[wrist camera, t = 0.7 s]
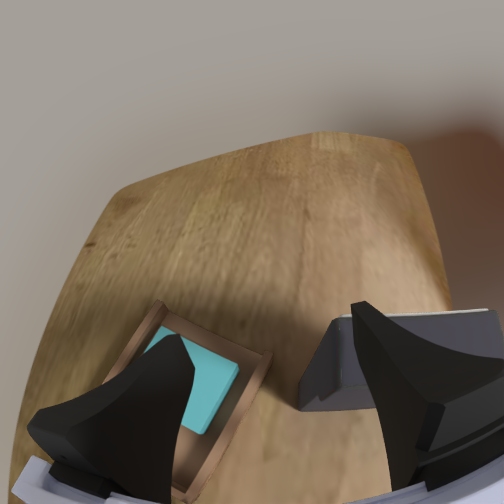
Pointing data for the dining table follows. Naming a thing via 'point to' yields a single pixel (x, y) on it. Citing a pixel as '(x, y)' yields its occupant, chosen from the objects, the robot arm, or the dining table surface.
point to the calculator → (421, 324)
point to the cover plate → (204, 383)
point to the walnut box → (229, 414)
